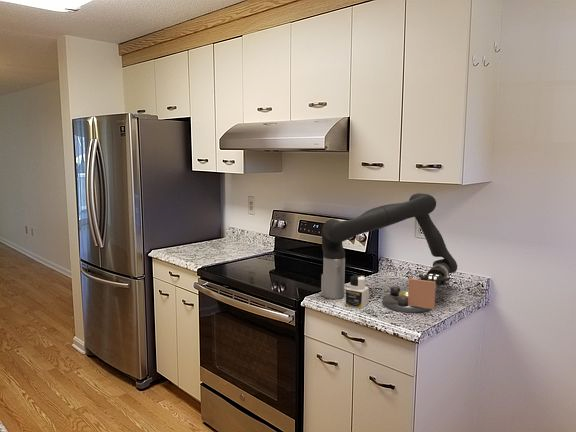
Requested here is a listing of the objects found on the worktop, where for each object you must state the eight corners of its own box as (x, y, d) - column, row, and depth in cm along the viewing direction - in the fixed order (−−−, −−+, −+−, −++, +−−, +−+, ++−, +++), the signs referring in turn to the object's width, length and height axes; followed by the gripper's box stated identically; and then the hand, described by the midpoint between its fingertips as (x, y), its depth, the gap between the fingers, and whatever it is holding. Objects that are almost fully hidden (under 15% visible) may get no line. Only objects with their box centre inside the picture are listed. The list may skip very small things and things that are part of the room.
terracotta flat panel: (396, 304, 182) (397, 278, 181) (399, 302, 186) (400, 276, 184) (433, 310, 176) (434, 283, 174) (435, 307, 179) (436, 280, 178)
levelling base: (375, 307, 186) (376, 294, 185) (390, 294, 203) (390, 282, 202) (426, 316, 176) (427, 302, 175) (437, 301, 194) (437, 289, 193)
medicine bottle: (345, 305, 188) (345, 276, 187) (352, 300, 194) (353, 273, 193) (361, 308, 185) (362, 279, 183) (368, 304, 190) (369, 275, 189)
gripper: (422, 264, 199) (412, 273, 184) (454, 268, 193) (447, 277, 178) (421, 281, 200) (411, 291, 185) (453, 285, 194) (446, 296, 179)
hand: (429, 284), depth 182 cm, fingers closed
